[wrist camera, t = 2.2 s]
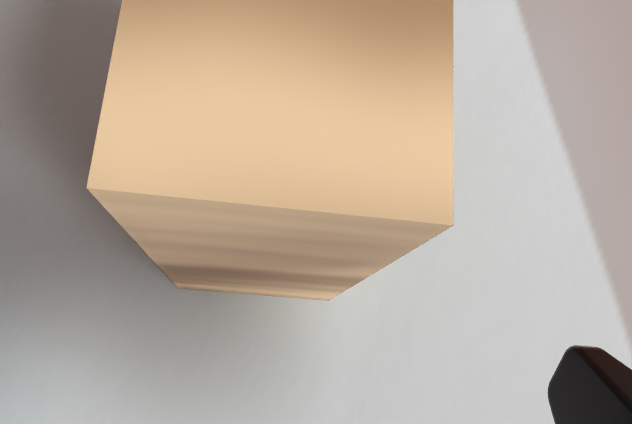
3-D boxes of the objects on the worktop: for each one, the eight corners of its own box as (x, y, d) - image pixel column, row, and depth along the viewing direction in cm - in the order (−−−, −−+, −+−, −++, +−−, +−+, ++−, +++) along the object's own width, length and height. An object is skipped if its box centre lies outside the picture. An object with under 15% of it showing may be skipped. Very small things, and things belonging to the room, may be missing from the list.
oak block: (328, 300, 18) (453, 225, 8) (178, 288, 18) (86, 188, 7) (336, 161, 19) (453, -66, 9) (197, 146, 19) (144, -119, 8)
